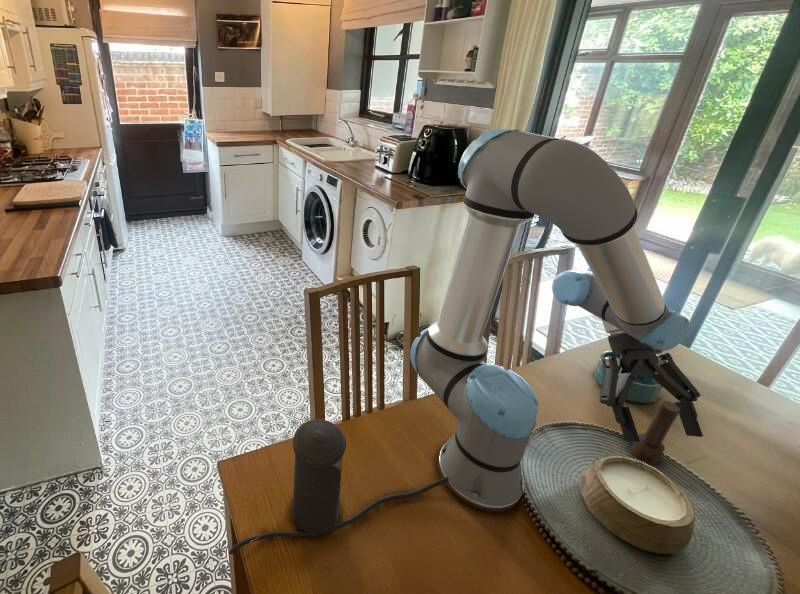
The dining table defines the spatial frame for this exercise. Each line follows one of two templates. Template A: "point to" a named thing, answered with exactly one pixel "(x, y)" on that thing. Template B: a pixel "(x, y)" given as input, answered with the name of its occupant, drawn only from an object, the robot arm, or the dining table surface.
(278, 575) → the dining table surface
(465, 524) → the dining table surface
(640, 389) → the bowl
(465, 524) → the dining table surface
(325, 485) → the container
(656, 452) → the pestle
